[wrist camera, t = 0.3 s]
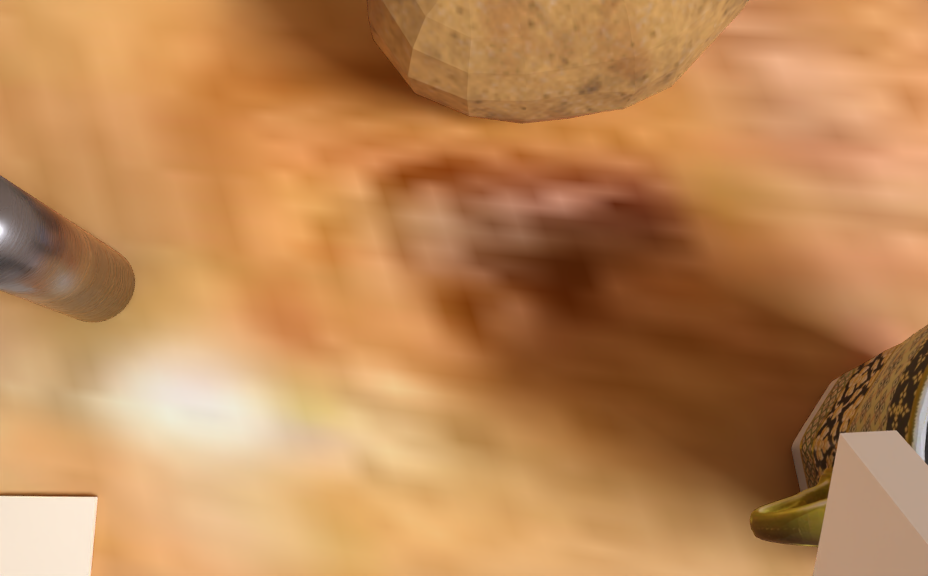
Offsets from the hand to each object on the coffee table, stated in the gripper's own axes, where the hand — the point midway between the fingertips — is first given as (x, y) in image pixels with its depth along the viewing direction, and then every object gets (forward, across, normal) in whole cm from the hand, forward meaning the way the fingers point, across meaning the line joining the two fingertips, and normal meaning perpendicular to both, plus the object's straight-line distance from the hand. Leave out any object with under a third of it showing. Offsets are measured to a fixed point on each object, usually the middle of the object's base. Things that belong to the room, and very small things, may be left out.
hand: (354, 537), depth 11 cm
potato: (+24, -6, -3) cm, 25 cm away
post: (+18, +10, +4) cm, 21 cm away
